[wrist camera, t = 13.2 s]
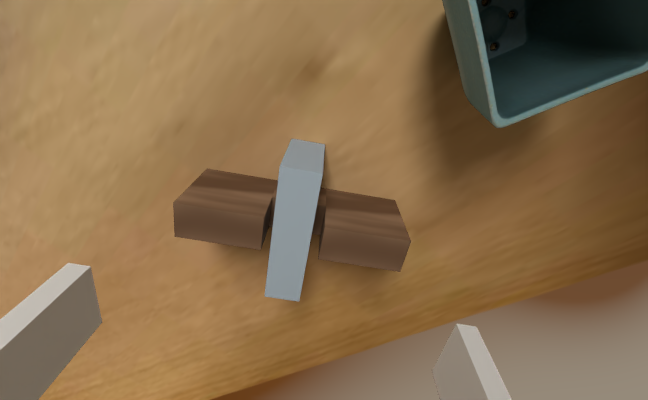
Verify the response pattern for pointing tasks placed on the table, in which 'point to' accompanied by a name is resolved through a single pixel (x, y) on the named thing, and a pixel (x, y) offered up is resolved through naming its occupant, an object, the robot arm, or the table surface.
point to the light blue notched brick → (294, 218)
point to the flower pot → (544, 51)
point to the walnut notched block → (258, 214)
